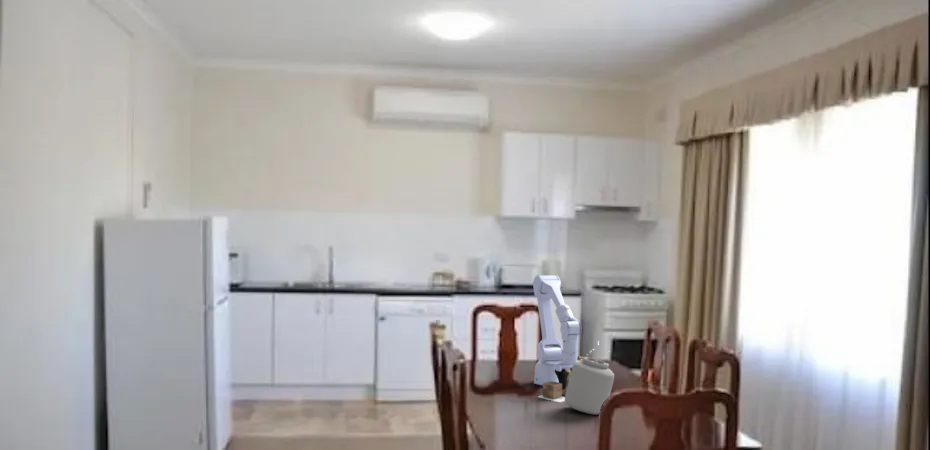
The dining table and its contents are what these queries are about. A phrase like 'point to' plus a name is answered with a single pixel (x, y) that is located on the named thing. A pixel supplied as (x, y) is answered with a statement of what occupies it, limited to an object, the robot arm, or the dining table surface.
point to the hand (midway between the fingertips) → (568, 387)
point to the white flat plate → (554, 399)
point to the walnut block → (552, 390)
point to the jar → (589, 385)
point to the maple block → (566, 386)
